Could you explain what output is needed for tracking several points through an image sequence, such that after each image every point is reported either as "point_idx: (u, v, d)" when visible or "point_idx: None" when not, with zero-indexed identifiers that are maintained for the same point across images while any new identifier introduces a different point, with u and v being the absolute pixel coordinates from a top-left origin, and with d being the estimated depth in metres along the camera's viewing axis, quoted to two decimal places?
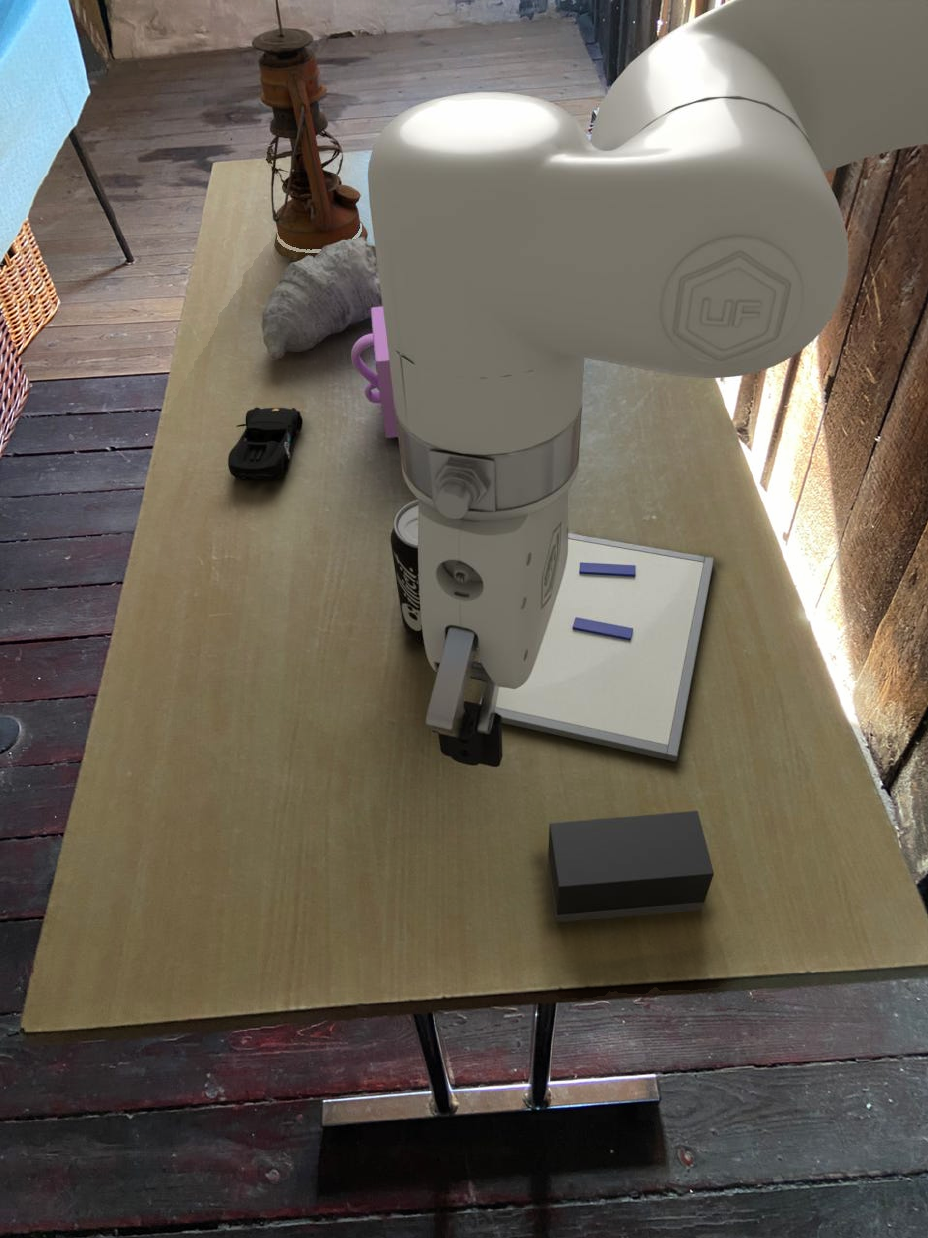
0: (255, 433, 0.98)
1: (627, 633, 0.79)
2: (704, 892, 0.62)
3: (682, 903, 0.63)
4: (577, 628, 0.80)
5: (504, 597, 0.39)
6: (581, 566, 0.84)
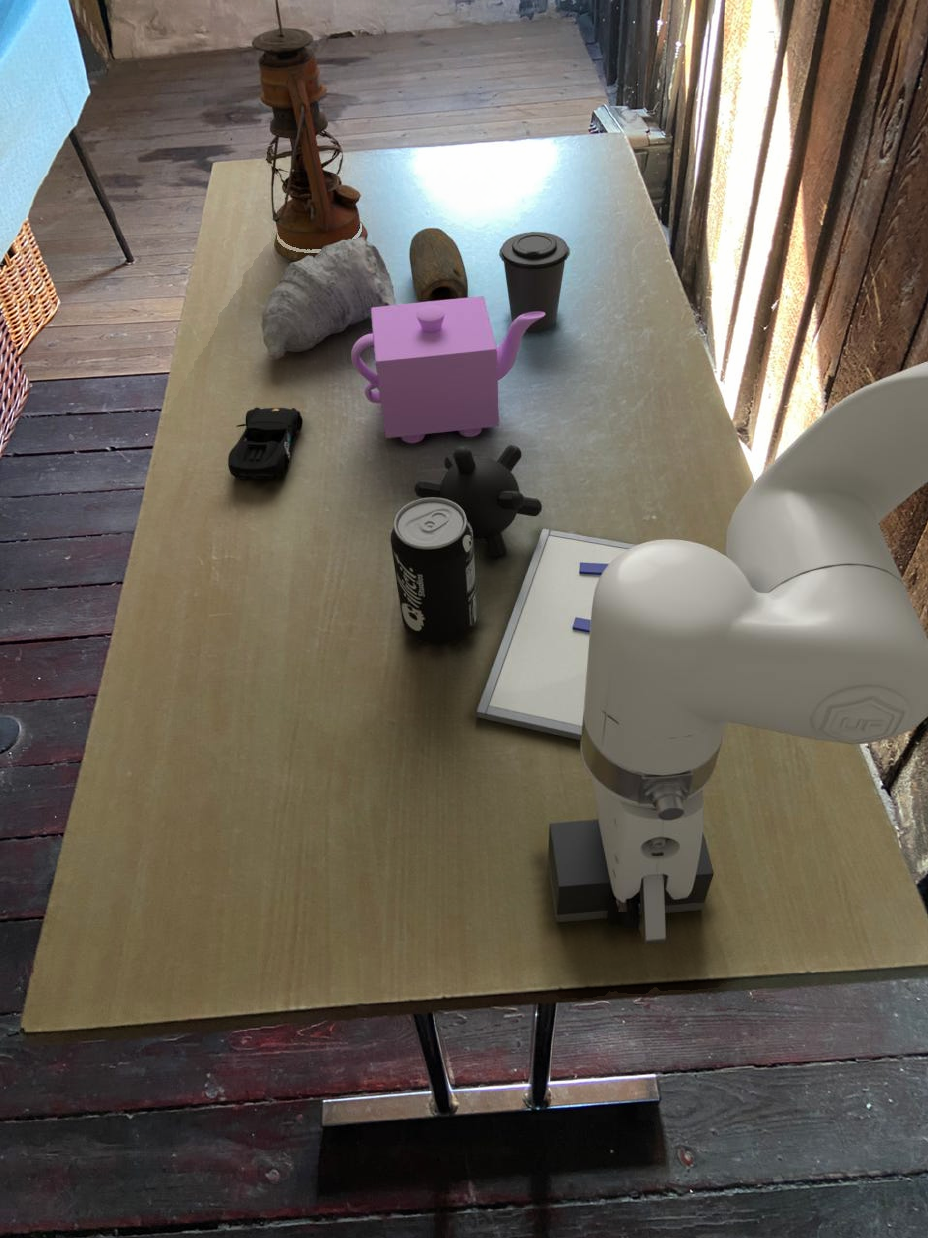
0: (255, 433, 0.98)
1: None
2: (704, 892, 0.62)
3: (682, 903, 0.63)
4: (577, 628, 0.80)
5: (693, 849, 0.52)
6: (581, 566, 0.84)
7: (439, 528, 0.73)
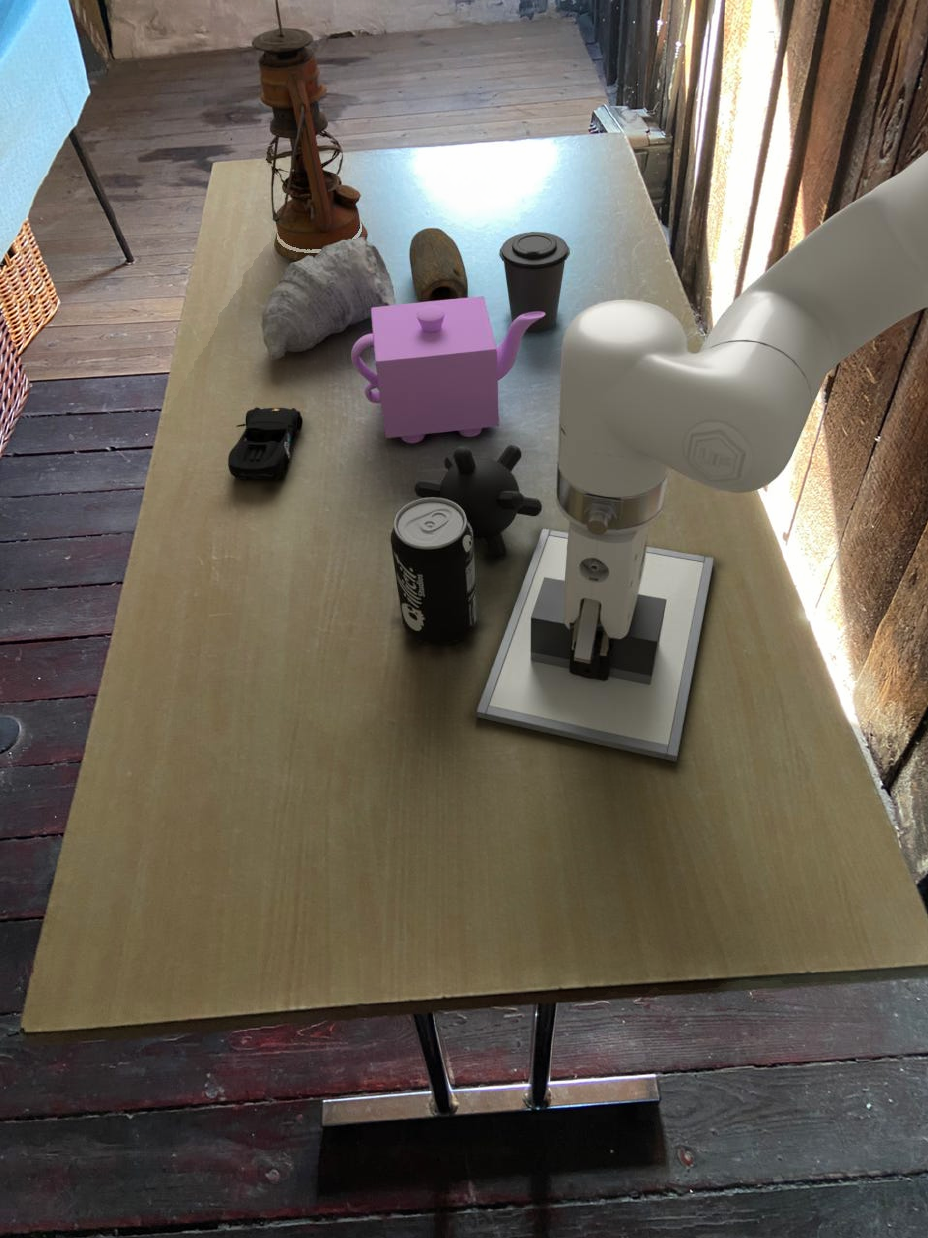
0: (255, 433, 0.98)
1: None
2: (650, 663, 0.74)
3: (632, 670, 0.75)
4: None
5: (621, 580, 0.64)
6: None
7: (439, 528, 0.73)
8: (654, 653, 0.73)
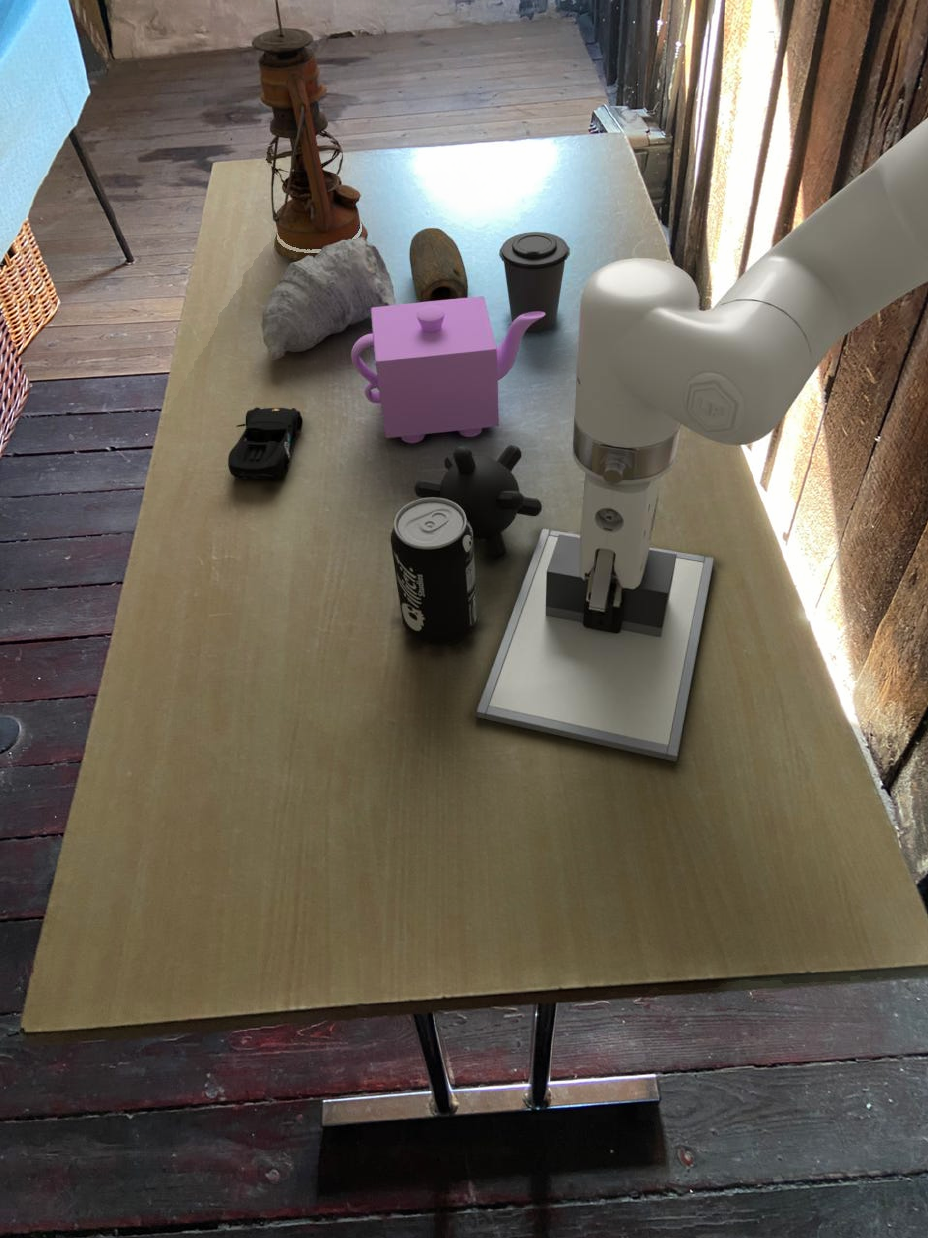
0: (255, 433, 0.98)
1: None
2: (661, 615, 0.77)
3: (644, 623, 0.78)
4: None
5: (634, 529, 0.68)
6: None
7: (439, 528, 0.73)
8: (665, 605, 0.76)
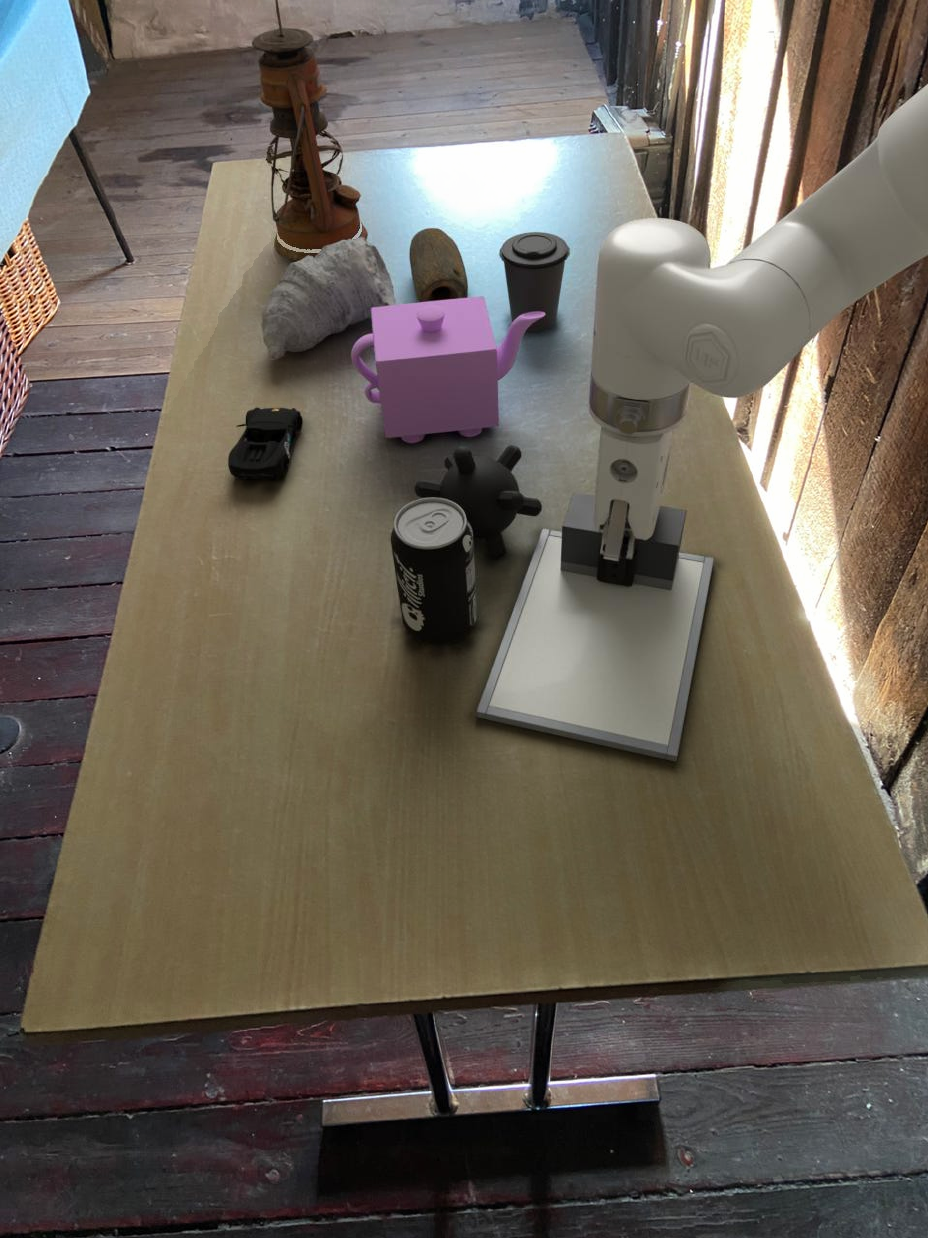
0: (255, 433, 0.98)
1: None
2: (672, 567, 0.80)
3: (655, 576, 0.82)
4: None
5: (648, 480, 0.71)
6: None
7: (439, 528, 0.73)
8: (676, 557, 0.79)
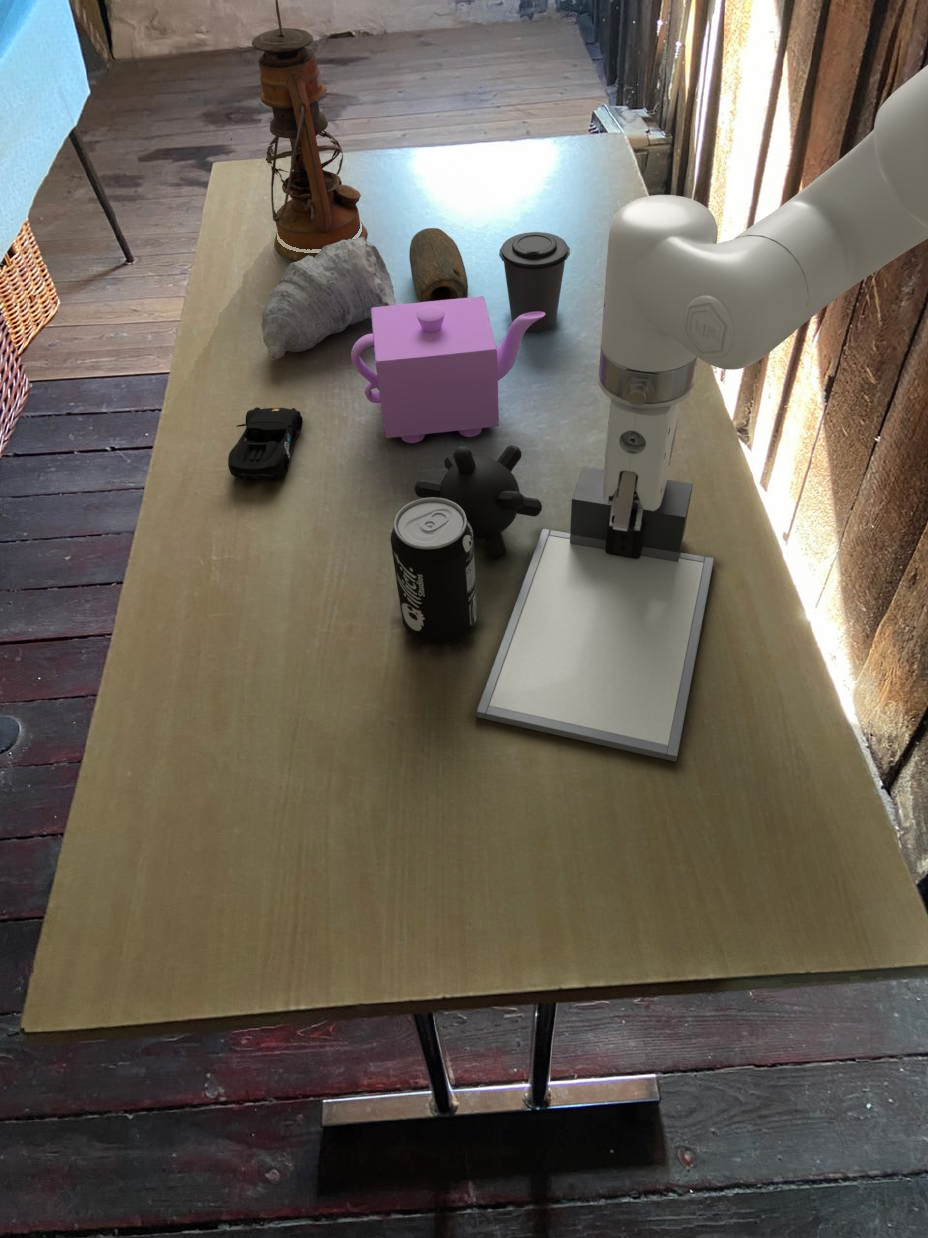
0: (255, 433, 0.98)
1: None
2: (679, 539, 0.83)
3: (662, 548, 0.84)
4: None
5: (656, 451, 0.73)
6: None
7: (439, 528, 0.73)
8: (682, 529, 0.82)
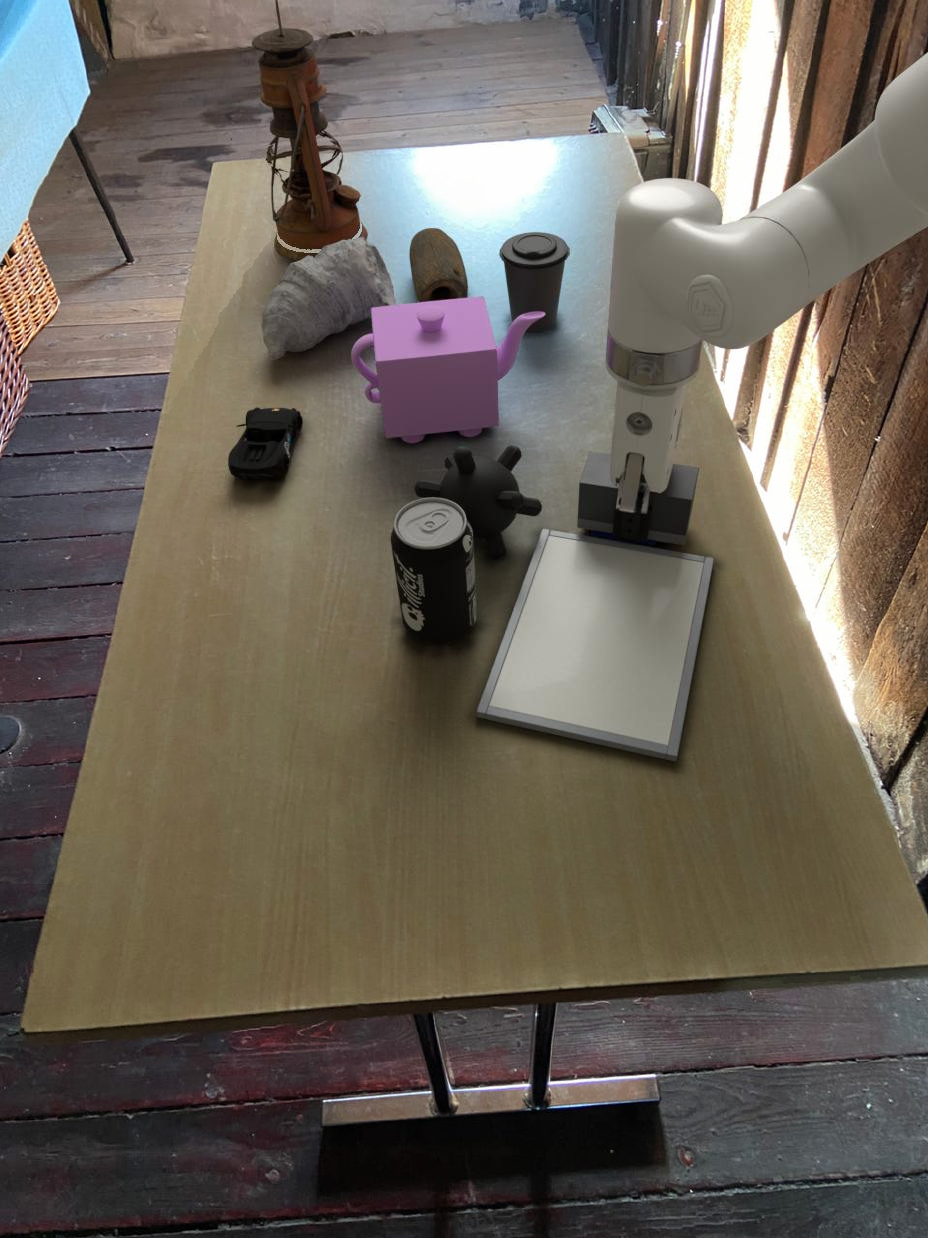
0: (255, 433, 0.98)
1: None
2: (685, 522, 0.84)
3: (669, 531, 0.85)
4: (606, 534, 0.88)
5: (662, 432, 0.74)
6: None
7: (439, 528, 0.73)
8: (689, 512, 0.83)
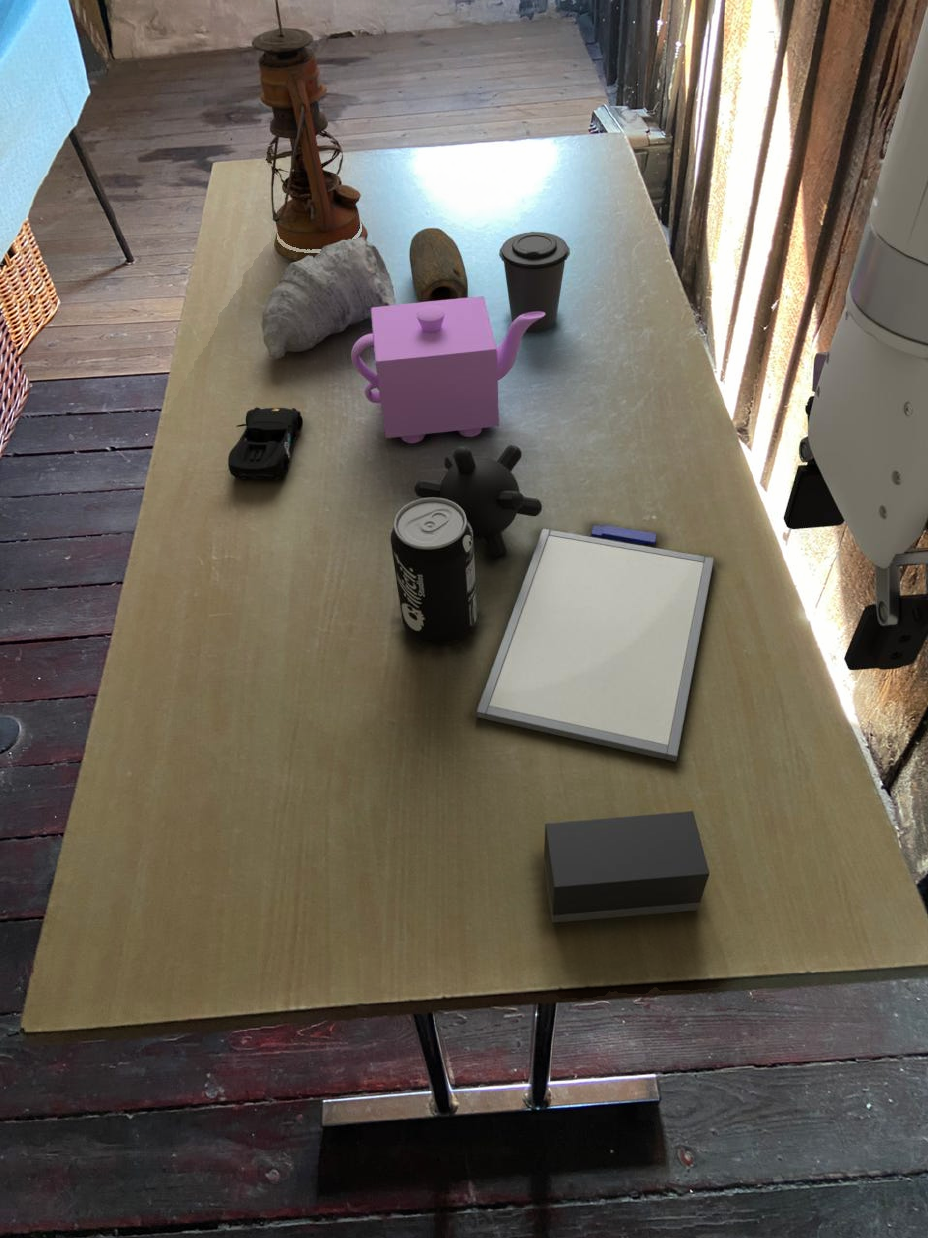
0: (255, 433, 0.98)
1: (651, 538, 0.87)
2: (700, 892, 0.62)
3: (677, 903, 0.63)
4: (606, 534, 0.88)
5: None
6: None
7: (439, 528, 0.73)
8: (705, 884, 0.61)
